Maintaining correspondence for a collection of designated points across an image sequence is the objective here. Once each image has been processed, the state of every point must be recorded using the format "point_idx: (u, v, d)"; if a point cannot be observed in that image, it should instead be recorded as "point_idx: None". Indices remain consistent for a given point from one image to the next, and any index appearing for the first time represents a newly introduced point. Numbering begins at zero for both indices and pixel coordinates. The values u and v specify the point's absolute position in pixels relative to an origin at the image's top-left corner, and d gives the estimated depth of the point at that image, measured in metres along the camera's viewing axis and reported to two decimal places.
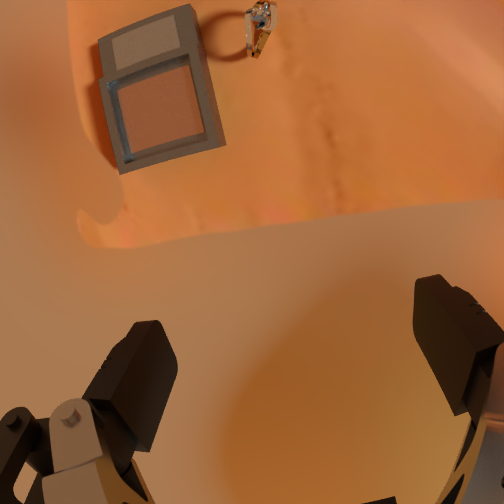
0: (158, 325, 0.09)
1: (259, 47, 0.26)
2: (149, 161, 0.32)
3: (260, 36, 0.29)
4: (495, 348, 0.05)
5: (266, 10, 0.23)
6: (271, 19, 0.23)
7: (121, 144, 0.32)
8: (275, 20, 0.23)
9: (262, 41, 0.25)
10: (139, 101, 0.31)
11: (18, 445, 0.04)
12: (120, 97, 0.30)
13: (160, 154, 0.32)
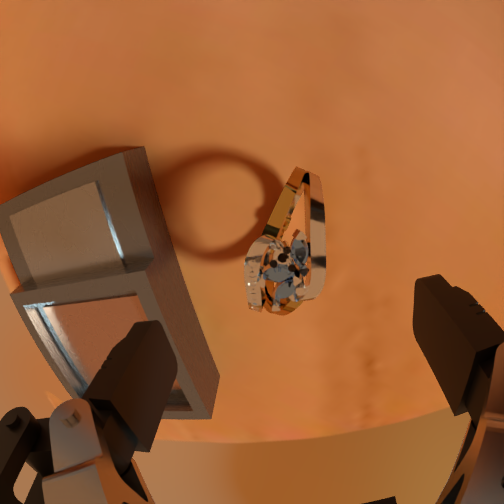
0: (158, 325, 0.09)
1: None
2: None
3: None
4: (495, 348, 0.05)
5: (300, 252, 0.11)
6: (311, 277, 0.12)
7: (73, 382, 0.20)
8: (320, 281, 0.12)
9: (284, 311, 0.14)
10: (79, 333, 0.19)
11: (18, 445, 0.04)
12: (50, 318, 0.19)
13: None
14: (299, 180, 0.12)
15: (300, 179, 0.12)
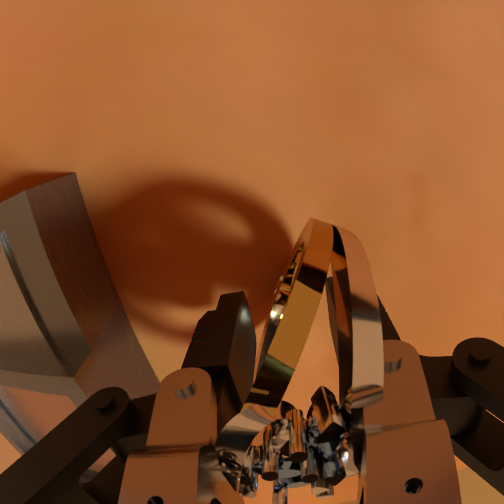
0: (244, 296, 0.10)
1: None
2: None
3: (279, 300, 0.11)
4: None
5: (329, 440, 0.04)
6: (346, 462, 0.05)
7: None
8: None
9: None
10: (27, 411, 0.12)
11: (102, 435, 0.05)
12: None
13: None
14: (325, 265, 0.06)
15: (326, 262, 0.06)
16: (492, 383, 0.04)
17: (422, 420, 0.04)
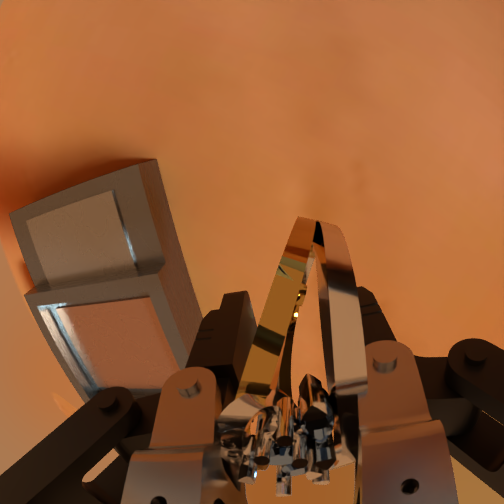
0: (247, 296, 0.10)
1: None
2: None
3: None
4: (367, 348, 0.06)
5: (318, 425, 0.05)
6: (342, 448, 0.05)
7: (82, 381, 0.22)
8: None
9: None
10: (90, 333, 0.21)
11: (105, 435, 0.05)
12: (62, 319, 0.20)
13: None
14: (303, 260, 0.06)
15: (305, 257, 0.06)
16: (487, 385, 0.04)
17: (418, 421, 0.04)
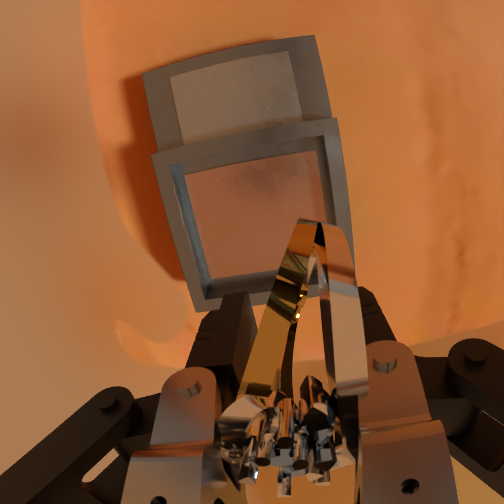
0: (247, 296, 0.10)
1: None
2: None
3: None
4: (367, 348, 0.06)
5: (319, 426, 0.05)
6: (343, 449, 0.05)
7: (197, 268, 0.22)
8: None
9: None
10: (226, 200, 0.21)
11: (105, 435, 0.05)
12: (191, 187, 0.21)
13: (265, 293, 0.22)
14: (304, 261, 0.06)
15: (306, 258, 0.06)
16: (488, 384, 0.04)
17: (418, 421, 0.04)
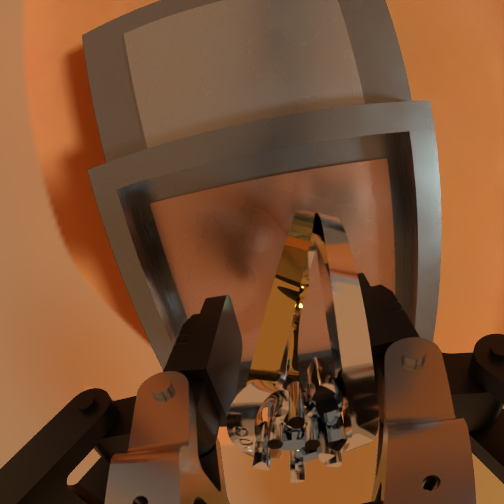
0: (229, 300, 0.10)
1: None
2: None
3: None
4: (394, 345, 0.06)
5: (327, 406, 0.05)
6: (352, 430, 0.05)
7: None
8: (370, 431, 0.05)
9: None
10: (226, 248, 0.12)
11: (86, 435, 0.05)
12: (162, 225, 0.12)
13: None
14: (304, 249, 0.06)
15: (306, 246, 0.06)
16: None
17: (442, 418, 0.04)
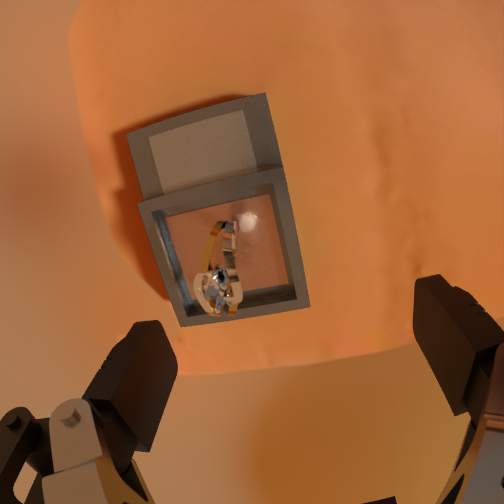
0: (158, 325, 0.09)
1: (229, 315, 0.22)
2: (220, 317, 0.28)
3: None
4: (495, 348, 0.05)
5: (221, 276, 0.19)
6: (233, 289, 0.20)
7: (180, 292, 0.27)
8: (239, 290, 0.20)
9: (231, 313, 0.21)
10: (199, 237, 0.26)
11: (18, 445, 0.04)
12: (171, 227, 0.26)
13: None
14: (217, 232, 0.21)
15: (217, 231, 0.21)
16: None
17: None
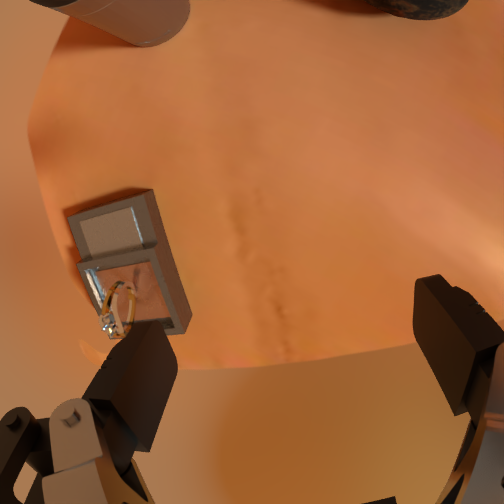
0: (158, 325, 0.09)
1: None
2: None
3: (129, 298, 0.38)
4: (495, 348, 0.05)
5: (111, 318, 0.31)
6: (118, 325, 0.32)
7: None
8: (121, 326, 0.32)
9: (122, 337, 0.34)
10: None
11: (18, 445, 0.04)
12: (98, 278, 0.38)
13: None
14: (111, 291, 0.33)
15: (111, 291, 0.33)
16: None
17: None
